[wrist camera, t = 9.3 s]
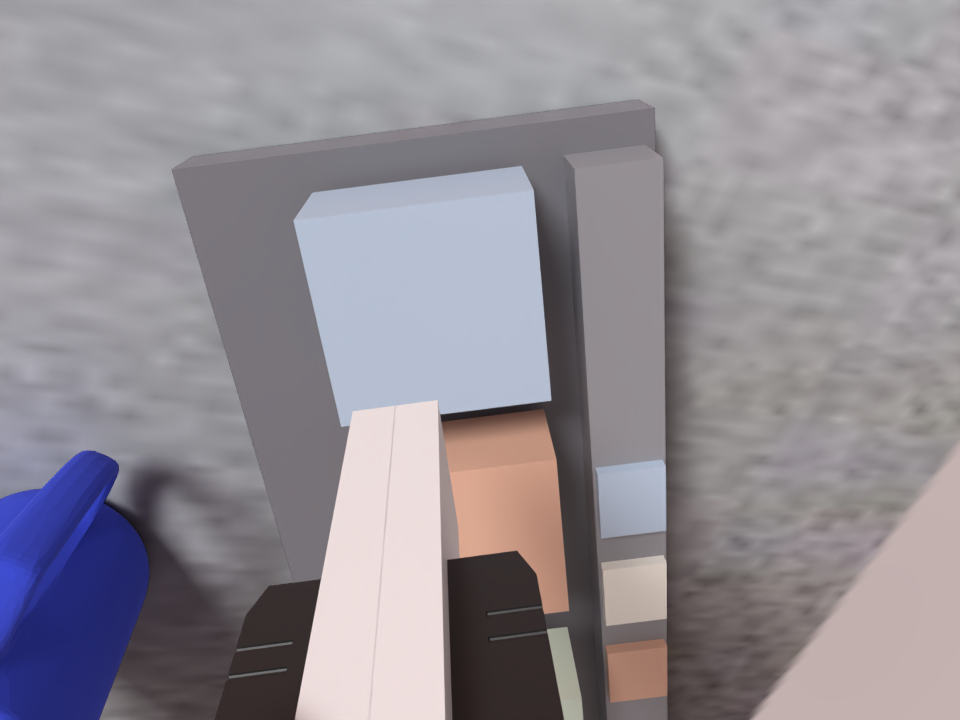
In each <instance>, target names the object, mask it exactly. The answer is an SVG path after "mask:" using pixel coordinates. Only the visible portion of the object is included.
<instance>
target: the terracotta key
mask: <svg viewBox="0 0 960 720" xmlns="http://www.w3.org/2000/svg"><path fill="white" fill-rule="evenodd" d="M441 423H442V429H443V435H444V441H445V448H446V454H447V460H448V466H449V472H450V479H451V485H452V491H453V497H454V503H455V510H456V516H457V522H458V535H459V553H460V558H464V557H472V556H479V555H487V554H494V553H502V552H509V551H518V552H519V553H520V555H521V556H522V557H523V558H524V559H525V561H526V562H527V563H528V564H529V565H530V567H531V568H532V569H533V570H534V571H535V573H536V574H537V579H538V584H539V590H540V595H541V600H542V606H543V611H544V614H548V613H556V612H564V611H569V603H568V591H567V579H566V567H565V555H564V543H563V532H562V520H561V508H560V496H559V484H558V472H557V461H556V456H555V452H554V448H553V444H552V440H551V436H550V432H549V428H548V424H547V420H546V416H545V412H544V409H540V410H532V411H524V412H516V413H508V414H500V415H492V416H484V417H476V418H468V419H460V420H452V421H444V422H441Z"/></svg>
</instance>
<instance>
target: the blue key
mask: <svg viewBox="0 0 960 720" xmlns="http://www.w3.org/2000/svg"><path fill="white" fill-rule="evenodd" d="M293 221H294V225H295V230H296V234H297V238H298V242H299V247H300V251H301V255H302V260H303V264H304V268H305V273H306V277H307V281H308V286H309V290H310V294H311V299H312V303H313V307H314V312H315V316H316V320H317V325H318V329H319V333H320V337H321V342H322V346H323V350H324V355H325V359H326V363H327V368H328V372H329V376H330V381H331V385H332V389H333V394H334V398H335V402H336V407H337V411H338V415H339V419H340V424H341V427H344V426H350V423H351V418H352V412H353V411H359V410H367V409H374V408H382V407H389V406H397V405H404V404H412V403H419V402H427V401H434V400H438V404H439V411H440V414H448V413H456V412H464V411H472V410H480V409H488V408H496V407H504V406H512V405H520V404H528V403H536V402H544V401H551V389H550V378H549V366H548V354H547V342H546V330H545V318H544V307H543V295H542V283H541V271H540V259H539V247H538V235H537V224H536V212H535V200H534V190H533V188H532V186H531V184H530V182H529V179H528V177H527V175H526V173H525V171H524V169H523V167H522V166H517V167H509V168H501V169H493V170H485V171H478V172H470V173H462V174H454V175H446V176H438V177H430V178H423V179H415V180H407V181H399V182H391V183H383V184H376V185H368V186H360V187H352V188H344V189H336V190H328V191H321V192H313V193H312V194H311V195H310V197H309V198H308V200H307V201H306V203H305V204H304V206H303V207H302V209H301V210H300V212H299V213H298V215H297V216H296V218H295V219H294V220H293Z"/></svg>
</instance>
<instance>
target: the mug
mask: <svg viewBox="0 0 960 720" xmlns="http://www.w3.org/2000/svg"><path fill="white" fill-rule="evenodd" d="M118 472H119V465H118V464H117V462H116V461H115V460H113V459H112V458H110V457H108V456H106V455H103V454H101V453H98V452H95V451H82V452H80V453H78V454H77V455H76V456H74V457H73V458H72V459H71V460H70V461H69V462H67V463H66V464H65V465H64V466H63V467H62V468H61V469H60V470H59V471H58V472H57V473H56V475H55V476H54V477H53V478H52V479H51V480H50V481H49V482H48V483H47V484H46V485H45V486H44V487H43V488H42V489H34V490H28V491H23V492H19V493H15V494H12V495H9V496H6V497H4V498H2V499H0V720H99V719H100V716H101V713H102V711H103V708H104V706H105V703H106V700H107V698H108V695H109V692H110V690H111V687H112V684H113V682H114V679H115V677H116V674H117V671H118V669H119V666H120V663H121V661H122V658H123V656H124V653H125V650H126V648H127V645H128V642H129V640H130V637H131V634H132V632H133V629H134V627H135V624H136V621H137V619H138V616H139V613H140V611H141V608H142V605H143V602H144V599H145V596H146V593H147V588H148V582H149V562H148V556H147V552H146V549H145V547H144V544H143V542H142V540H141V538H140V536H139V535H138V533H137V532H136V530H135V529H134V528H133V526H132V525H131V524H130V523H129V522H128V521H127V520H126V519H125V518H124V517H123V516H122V515H120V514H119V513H118V512H116V511H115V510H114V509H112V508H111V507H109V506H107V505H105V504H104V502H105V500H106V498H107V496H108V494H109V492H110V490H111V488H112V486H113V484H114V482H115V480H116V478H117V475H118Z"/></svg>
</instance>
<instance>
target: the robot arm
mask: <svg viewBox="0 0 960 720" xmlns="http://www.w3.org/2000/svg"><path fill="white" fill-rule="evenodd" d="M215 720H564V716H563V711H562V705H561V700H560V695H559V690H558V684H557V679H556V674H555V669H554V663H553V658H552V653H551V647H550V642H549V637H548V633H547V626H546V621H545V616H544V611H543V606H542V600H541V595H540V590H539V584H538V579H537V574H536V573H535V571H534V570H533V569H532V568H531V567H530V565H529V564H528V563H527V562H526V561H525V559H524V558H523V557H522V556H521V555H520V553H519V552H518V551H509V552H502V553H494V554H487V555H479V556H472V557H464V558H460V553H459V535H458V522H457V516H456V510H455V503H454V497H453V491H452V485H451V479H450V472H449V466H448V460H447V454H446V448H445V441H444V435H443V429H442V423H441V417H440V411H439V404H438V400H434V401H427V402H419V403H412V404H404V405H397V406H389V407H382V408H374V409H367V410H359V411H353V412H352V418H351V423H350V428H349V434H348V439H347V444H346V449H345V455H344V460H343V465H342V471H341V476H340V481H339V487H338V492H337V497H336V503H335V508H334V513H333V519H332V524H331V529H330V535H329V540H328V545H327V551H326V556H325V561H324V567H323V572H322V577H321V579H318V580H310V581H303V582H295V583H288V584H280V585H273V586H269V587H268V588H267V589H266V590H265V592H264V593H263V594H262V596H261V597H260V598H259V599H258V601H257V602H256V603H255V605H254V606H253V607H252V608H251V610H250V611H249V612H248V614H247V615H246V617H245V621H244V624H243V627H242V631H241V634H240V637H239V641H238V644H237V654H234V657H233V661H232V664H231V667H230V671H229V681H226V684H225V687H224V691H223V694H222V697H221V701H220V704H219V707H218V711H217V714H216V717H215Z"/></svg>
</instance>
